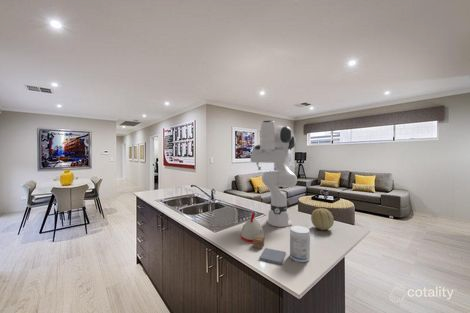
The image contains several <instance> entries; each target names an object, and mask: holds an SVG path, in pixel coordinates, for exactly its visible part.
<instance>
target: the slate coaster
mask: <svg viewBox="0 0 470 313" xmlns="http://www.w3.org/2000/svg"><path fill="white" fill-rule="evenodd" d="M286 255H287V253H286V251H283V250H278V249H273V248H267V247H264V248H263V251H262V252H261V254H260V256H259V260H260V261H263V262H267V263H272V264H276V265H280V266H282V265H283V263H284V260H285V257H286Z"/></svg>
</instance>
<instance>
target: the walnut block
mask: <svg viewBox="0 0 470 313" xmlns="http://www.w3.org/2000/svg"><path fill="white" fill-rule="evenodd" d="M264 246H265V237H261V236H255V237H254V238H253V243H252V248H253V249H258V250H263V249H264Z"/></svg>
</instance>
